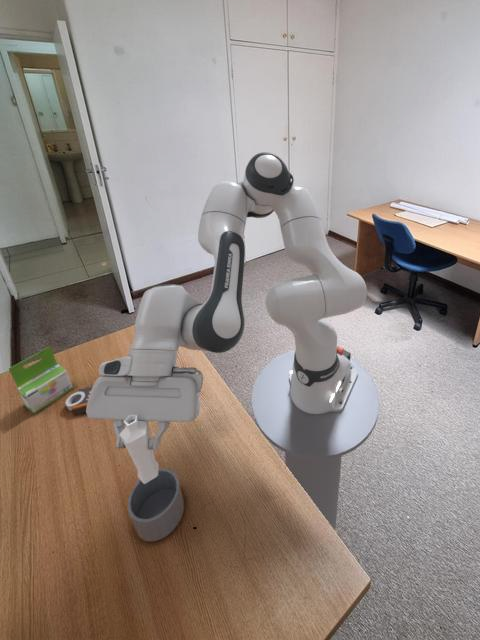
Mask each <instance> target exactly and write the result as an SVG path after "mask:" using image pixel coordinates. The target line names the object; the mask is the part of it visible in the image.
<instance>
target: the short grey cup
mask: <svg viewBox="0 0 480 640" xmlns="http://www.w3.org/2000/svg"><path fill="white" fill-rule="evenodd" d="M184 508H185V501H184V495H183V493H182V488H181V484H180V480H179V477H178V475H177V474H176V473H175V472H174V471H173V470H171V469H170V468H169V469H168V468H159V469H158V476H157V477H155V478H154V479H152V480H151V481H149V482H147V483H146V484H143V482H142V481H141V480H140V479H138V481H137V482H136V483H135V484H134V486H133V488H132V489H131V491H130V494H129V495H128V500H127V510H128V515H129V517H130V520H131V522H132V524H133V527H134V530H135V533H136V534H137V536H138V537H139V538H140V539H141V540H143V541H145V542H157V541H160V540H163V539H165V538H166V537H167V536H168V535H170V534H171V533H172V532H173V531H174V530H175V529H176V527H177V526H178V525H179V523H180V521H181V519H182V517H183V514H184V510H185V509H184Z"/></svg>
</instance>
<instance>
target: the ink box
mask: <svg viewBox="0 0 480 640" xmlns="http://www.w3.org/2000/svg"><path fill="white" fill-rule="evenodd" d="M39 357H41V359H40V360H38V361H36V362H35V363H34V362H33V364H31V365H29V366H27V367H24V366H25V365H26V364H28V363H29V362H30V361H32V360H34V359H36V358H39ZM8 371H9V372H10V375H11V376H12V379H13V381H14V383H15V384H16V386H17V392H18V394H19V396H20V398H21V400H22V402H23V404H24V406H25V407H26V408H27V409H28V410H29V412H30V413H32V414H33V415H36V414H37V413H39V412H41V411H42V410H43V409H45V408H47V407H48V406H49V405H51V404H53V403H54V402H55V401H57V400H59V399H60V398H61V397H63V396H65V395H66V394H67V393H69V392H71V391H72V390H73V389H74V386H73V384H72V381H71V378H70V377H69V374H68V372H67V370H66V369H65V368H64V367H62V366H61V365H60V364H58V362H57V360H56V357H55V354H54V352H53V350H52V347H51V345H49V346H47V347H45V348H43V349H41V350H40V351H38V352H36V353H34V354H32V355H30V356H29V357H27V358H25V359H23V360H22V361H19V362H18V363H16V364H14V365H12V366H10V367H9V368H8Z"/></svg>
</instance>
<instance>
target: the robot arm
mask: <svg viewBox="0 0 480 640" xmlns="http://www.w3.org/2000/svg"><path fill="white" fill-rule="evenodd" d="M294 182H295V181H294V176H293V174H292V173H291V172H290V171H289V169H288V166H287V165H286V163H285V162H284V161H283V159H282V158H280V156H278V155H277V154H275V153H272V152H268V151H267V152H266V151H263V152H258V153H256V154H255V155H254V156H252V157H251V158H250V160H249V161H248V163H247V165H246V167H245V171H244V175H243V179H242V181H240V182H234V181H230V180H223V181H219V182H218V183H216V184H215V185H214V186H213V187H212V188H211V190H210V192H209V194H208V196H207V199H206V201H205V204H204V207H203V209H202V213H201V216H200V220H199V224H198V232H197V234H198V235H197V242H198V243H199V245H200V247H201V248H202V249H203V250H204V251H205V252H206V253H208V254H210V255H212V256H213V258H214V267H213V273H212V279H211V287H210V293H209V296H208V297H207V299H206V301H205V302H201V301H200V300H197V299H196V298H195V297H193V295H191V294H190V293H189V292H188V291H187V290H186V289H185V287H184V285H180V284H175V283H166V284H165V283H164V284H157V285H154V286H151V287H150V288H148V289H147V290H145V291H144V292H143V295H142V297H141V300H140V301H139V305H138V309H137V313H136V317H135V321H134V338H133V341H132V343H131V345H130V347H129V351H128V355H125V356H122V357H119V358H115V359H112V360H108V361H105V362H102V363H100V365H99V367H98V374H99V375H100V376H99V377H98V378H96V380H95V381H94V383H93V384H92V386H91V387H92V390H91V393H90V396H89V400H88V404H87V408H86V412H85V413H86V416H87V418H88V419H89V420H113V425H112V428H113V432H114V433H115V436H116V442H115V448H116V449H127V448H126V446H125V444H124V442H123V441H122V439H121V437H120V433H121V432H122V430H123V429H124V428H125V426H126V424H125V423H124V420H125V419H126V418H127V417H128V416H129V415H137V419H138V420H140V421H147V422H157V425H156V428H157V429H158V431H157V432H156V434H155V435H154V436H152V437H151V438H150V439H149V445H148V449H150V450H153V451H157V450H158V449H160V448H161V447H160V446H161V442H162V437H163V436H164V434H165V433H166V432H167V430H168V429H169V427H170V423H171V422H172V423H190V422H191V423H192V422H193V421H194V420H196V419H197V418H198V416H199V415H200V407H201V390H202V387H203V382H204V375H203V373H202V372H201V371H200V370H199V369H198V368H197V367H185V366H177V359H178V353H179V348H180V347H182V348H185V349H187V350H191V351H199V352H200V351H201V352H203V351H206V352H211V353H216V354H221V353H226V352H228V351H230V350H232V349H233V348H234V347H235V346H236V345H237V344H238V343H239V342H240V340H241V339H242V337H243V334H244V331H245V314H244V310H243V302H242V295H243V293H242V292H243V285H244V284H243V283H244V272H245V260H246V259H245V258H246V257H245V256H246V245H245V241H244V236H245V230H246V224H247V219H248V218H255V219H263V218H267V217H269V216H270V215H272V214H273V212H274V213H275V215H276V216H277V218H278V221H279V228H280V232H281V237H282V242H283V248H284V251H285V254H286V256H287V258H288V259H289V260H290V261H291V262H293V263H295V264H297V265H301V266H304V267H305V268H306V269H308V270H309V272H310V273H311V274H309V275H303V276H302V275H301V276H298V277H297V276H296V277H291V278H287V279H284V280H281V281H278V282H276V283H274V284H271V285H270V287H269V288H268V290H267V293H266V297H265V308H266V312H267V314H268V316H269V317H270V318H271V320H273V321H274V323H276V324H277V325H281V326H283V327H285V328H287V329H288V330H289V331H290V332H291V333H292V335H293V337H294V344H295V349H296V351H295V354H294V361H293V366H292V371H290V375H289V382H290V384H291V389H290V395H291V399H292V401H293V403H294V404H295V406H296V407H298V408H299V409H300V410H302V411H304V412H306V413H309V414H323V413H327V412H331V411H332V412H341V411H343V409H344V407H345V405H346V402H347V400H348V398H349V395H350V393H351V391H352V388H353V386H354V384H355V381H356V379H357V377H358V372H357V370H356V369H355V368H354V367H353V366H352V365H351V363H350V358H351V357H352V356H351V352H349V351H347V350H346V349H344V348H343V347H340V346H339V345H338V335H337V331H336V329H335V328H334V327H333V325H331V324H330V323H329V322H328V321H325V320H323V319H327V318H332V317H337V316H341V315H342V316H343V315H346V314H350V313H351V312H354V311H356V310H358V309H361V308H363V307H364V305H365V303H366V300H367V296H368V287H367V284H366V281H365V280H364V278H363V277H362V275H361V274H359V273H358V272H357V271H355V270H353V269H351V268H350V267H348V266H347V265H345V264H343V262H341V260H339V259H338V258H337V256H336V255H335V254H334V253H333V251H332V249H331V247H330V245H329V243H328V240H327V236H326V234H325V231H324V227H323V223H322V220H321V216H320V213H319V209H318V207H317V204H316V201H315V199H314V197H313V195H312V194H311V192H310V191H309V189H307V188H305V187H303V186H295V185H294ZM339 403H341V404H339Z"/></svg>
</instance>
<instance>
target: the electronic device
mask: <svg viewBox="0 0 480 640" xmlns="http://www.w3.org/2000/svg"><path fill="white" fill-rule="evenodd" d="M92 387H93V386H89V387H85V388H80V389H78V391H76V392H74V393H72V394H71V395H69V396H68V397H67V398H66V400H65V402H64V404H65V406H66V408H67V410H68V411H70V412H72V413H73V415H74V416H76V415H79V414H83V413H86V408H87V404H88V400H89V396H90V393H91V390H92Z"/></svg>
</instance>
